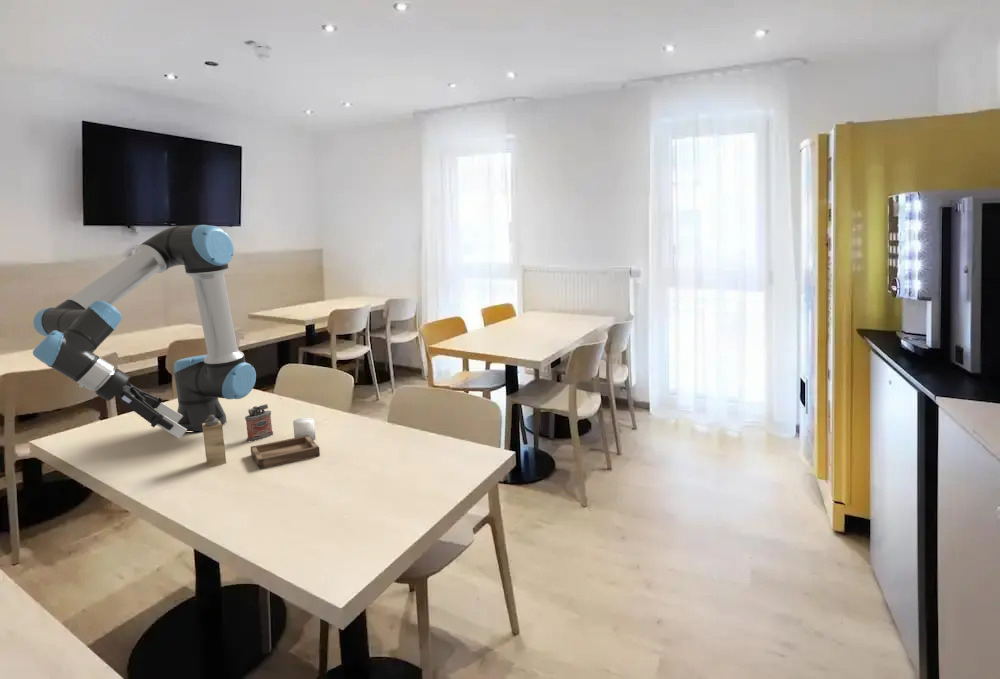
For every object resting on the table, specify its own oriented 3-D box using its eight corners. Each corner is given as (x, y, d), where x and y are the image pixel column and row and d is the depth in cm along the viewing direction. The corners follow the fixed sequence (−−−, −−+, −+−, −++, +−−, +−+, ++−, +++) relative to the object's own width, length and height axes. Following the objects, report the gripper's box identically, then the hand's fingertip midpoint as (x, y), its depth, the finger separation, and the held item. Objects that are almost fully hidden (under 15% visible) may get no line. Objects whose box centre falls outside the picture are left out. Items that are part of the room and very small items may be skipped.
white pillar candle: (292, 438, 176) (290, 420, 175) (312, 434, 179) (311, 416, 178) (297, 444, 171) (295, 425, 170) (317, 440, 174) (316, 421, 173)
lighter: (251, 442, 173) (247, 410, 171) (245, 440, 175) (241, 408, 173) (275, 434, 180) (272, 403, 178) (269, 432, 182) (266, 402, 180)
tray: (251, 455, 163) (250, 446, 163) (308, 443, 172) (308, 435, 171) (259, 469, 153) (258, 460, 153) (319, 455, 162) (319, 447, 161)
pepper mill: (206, 461, 159) (201, 414, 157) (224, 458, 161) (218, 411, 159) (208, 466, 155) (202, 418, 153) (226, 463, 158) (220, 415, 155)
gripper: (95, 381, 151) (168, 425, 161) (90, 404, 130) (173, 452, 140) (117, 359, 152) (187, 404, 163) (115, 378, 132) (195, 428, 142)
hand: (181, 426), depth 152 cm, fingers open, 13 cm apart
